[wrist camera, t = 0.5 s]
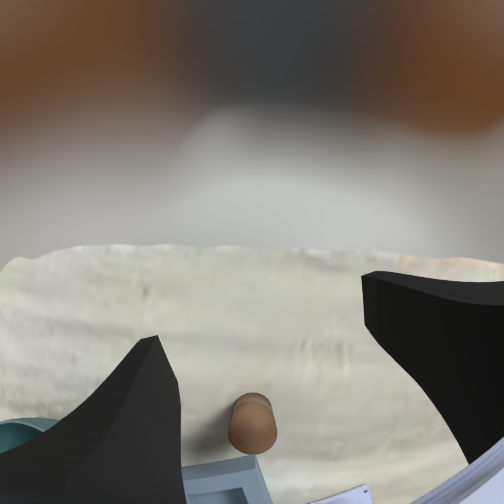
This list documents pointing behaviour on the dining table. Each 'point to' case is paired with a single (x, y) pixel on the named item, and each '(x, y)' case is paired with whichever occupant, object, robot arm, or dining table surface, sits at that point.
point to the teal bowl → (22, 431)
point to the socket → (226, 482)
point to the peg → (252, 424)
